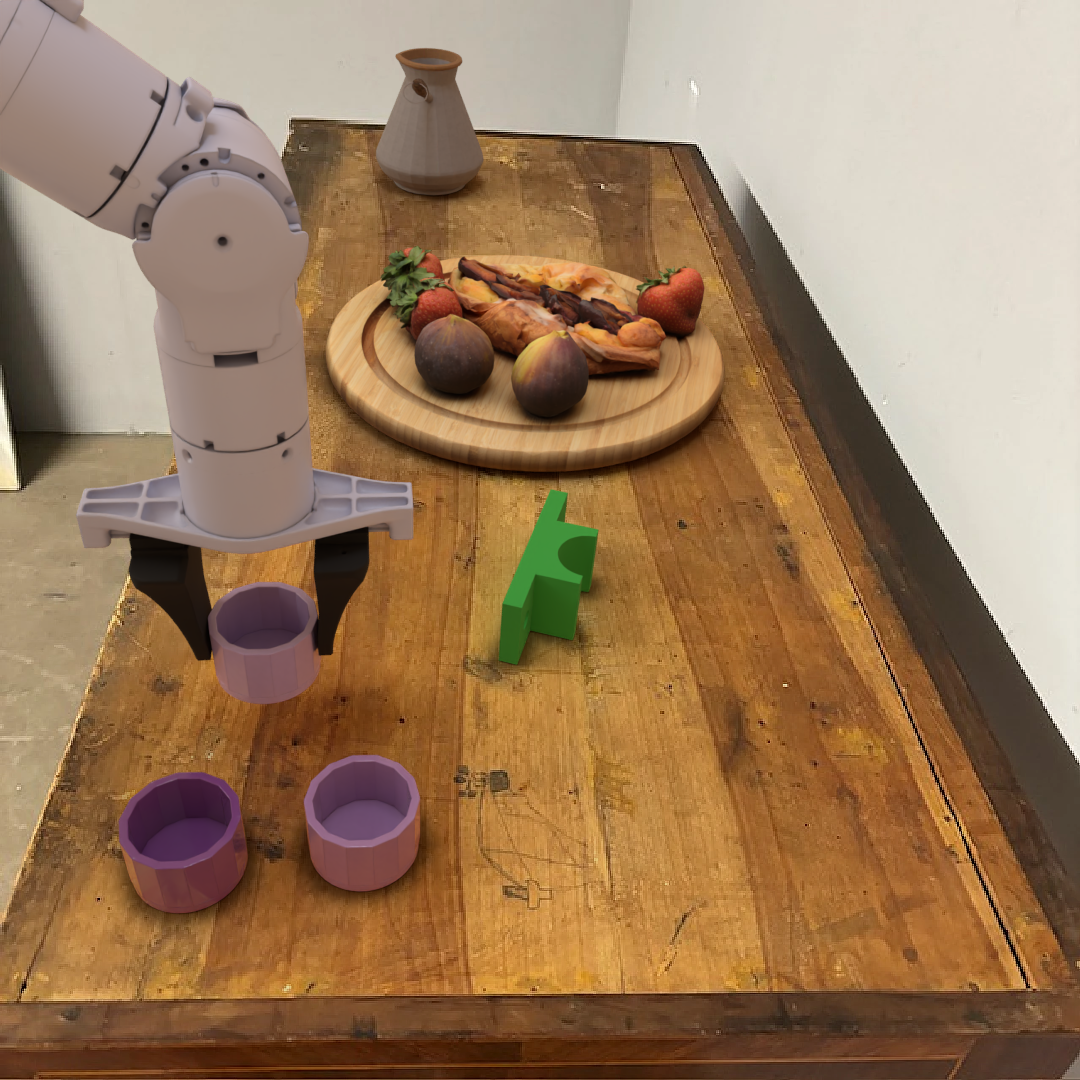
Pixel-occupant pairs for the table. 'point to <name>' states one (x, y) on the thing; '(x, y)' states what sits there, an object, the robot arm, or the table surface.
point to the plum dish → (184, 841)
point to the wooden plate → (526, 360)
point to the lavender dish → (265, 642)
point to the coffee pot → (429, 127)
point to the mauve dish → (363, 822)
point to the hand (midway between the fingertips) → (267, 643)
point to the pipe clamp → (548, 580)
